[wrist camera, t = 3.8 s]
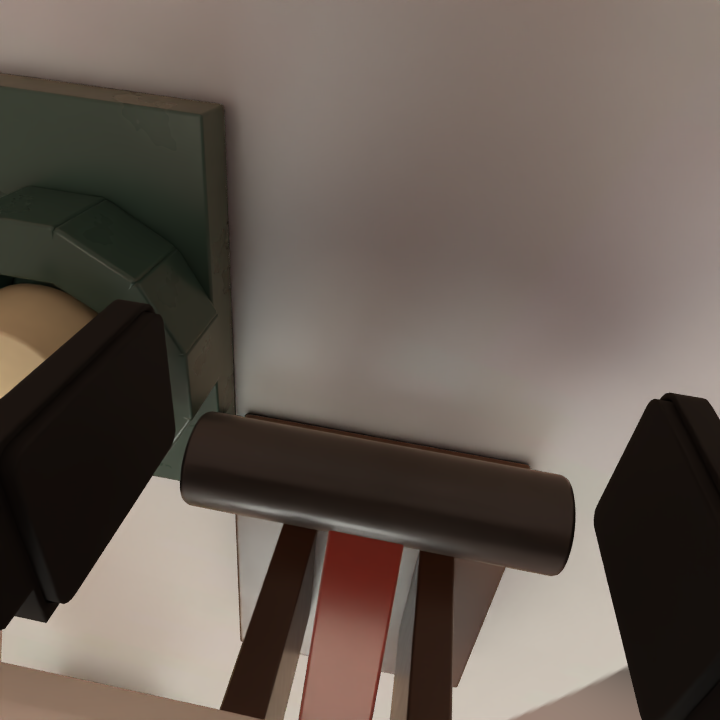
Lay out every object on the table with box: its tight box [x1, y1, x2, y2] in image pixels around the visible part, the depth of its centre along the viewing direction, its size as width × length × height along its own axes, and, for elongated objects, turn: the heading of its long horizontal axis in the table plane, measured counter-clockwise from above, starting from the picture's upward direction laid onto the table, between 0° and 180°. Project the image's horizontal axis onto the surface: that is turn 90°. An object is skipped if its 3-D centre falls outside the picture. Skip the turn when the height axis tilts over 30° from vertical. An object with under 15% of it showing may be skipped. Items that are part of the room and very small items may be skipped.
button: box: [0, 283, 98, 399], centre depth 11 cm, size 3×3×2 cm
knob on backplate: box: [0, 73, 235, 481], centre depth 13 cm, size 10×6×3 cm, turn 174°
